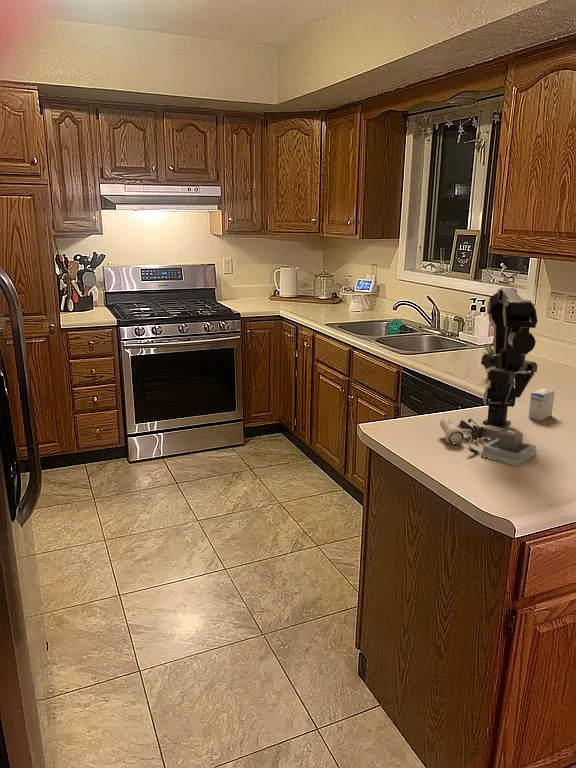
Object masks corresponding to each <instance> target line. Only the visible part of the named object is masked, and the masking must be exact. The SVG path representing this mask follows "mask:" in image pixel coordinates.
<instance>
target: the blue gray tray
mask: <svg viewBox="0 0 576 768" xmlns="http://www.w3.org/2000/svg"><path fill="white" fill-rule="evenodd" d="M498 442H499V438H498V439H496V440H494V441H491V442H490V443H489V442H488V443H486V444H484V445H483V447H482V450H483V451H482V450H481V451H482V452H481V451H480V452H481V453H480V457H482V456H485V457H489V458H492V459H491V460H493V459H496V460H499V461H498V462H500V461H502V462H501V463H503V462H505V463H504V464H507V463H508V465H510V464H512V465H511V466H514V465H515V467H518V466H520V465H521V464H522V462H523V463H524V462H526V461H528V460H529V459H531V458H533V456H535V455H537V452H538V450H537V449H536V447H537V445H535V444H531V443H526V442H523V441H522V447H521V451H520V452H518V453H514V452H510V451H506V450H502V449H499V448H498ZM485 457H484V458H485ZM489 458H488V459H489ZM496 460H495V461H496ZM517 465H518V466H517Z"/></svg>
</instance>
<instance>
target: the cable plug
mask: <svg viewBox="0 0 576 768" xmlns="http://www.w3.org/2000/svg"><path fill="white" fill-rule="evenodd" d="M483 427H484V432H483V435H482V437H483V438H484V437H490V438H491V440H493V441H494V440H496V439H498V438H499V433H501V432H503V431H505V428H504V427H497V426H493V425H489V424H486V425H485V426H483ZM487 439H488V438H487Z"/></svg>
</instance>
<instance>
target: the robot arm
mask: <svg viewBox="0 0 576 768" xmlns="http://www.w3.org/2000/svg"><path fill="white" fill-rule="evenodd" d="M517 290H518V289H517V288H514V287H500V288H498V289H497V292H496V293H494V294H493V295H492V296H489V300H488V302H487V305H486V306H487V307H486V313H487V315H488V321H489V322H490V324H491V326H492V327H493V350H494V355H491V354H490V353H489V354H483V355H482V356H481V361H480V364H481V365H483V366H484V369H485V370H486V369H487V368H489V367H494V368H493V369H492V370H490V371H489V372H488V374H487V376H486V380H487V379H488V382H487V386H486V387H485V390H484V393H483V404H484V405H485V407H487V408H488V409H487V419H485V420H483V421H482V423H483V424H485V423H486V425H489V424H490V425H491V426H496V427H500V428H504V427H506V426H507V425H510V424H511V423H512V421H510V420H508V407H512V408H515V407H514V406H515V405H516V399H517V398H518V399H519V398H521V396H522V394H523V393H524V391H525V389H526V388H527V386H528V385H529V383H530V381H531V380H532V378H533V377H534V376H535V373H537V372H538V364H537V363H536V361H531V360H526V355H529V353H530V352H532V351H533V350H534V348H535V346H536V338H535V337H534V335H533V334H532V333H531V332H530V328H531V329H536V325H537V324H538V317H537V316H538V315H537V309H536V308H535V305H534V304H533V302H532V301H531V300H530V299H522V298H521V296H520V295H519V293H518V291H517Z"/></svg>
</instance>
